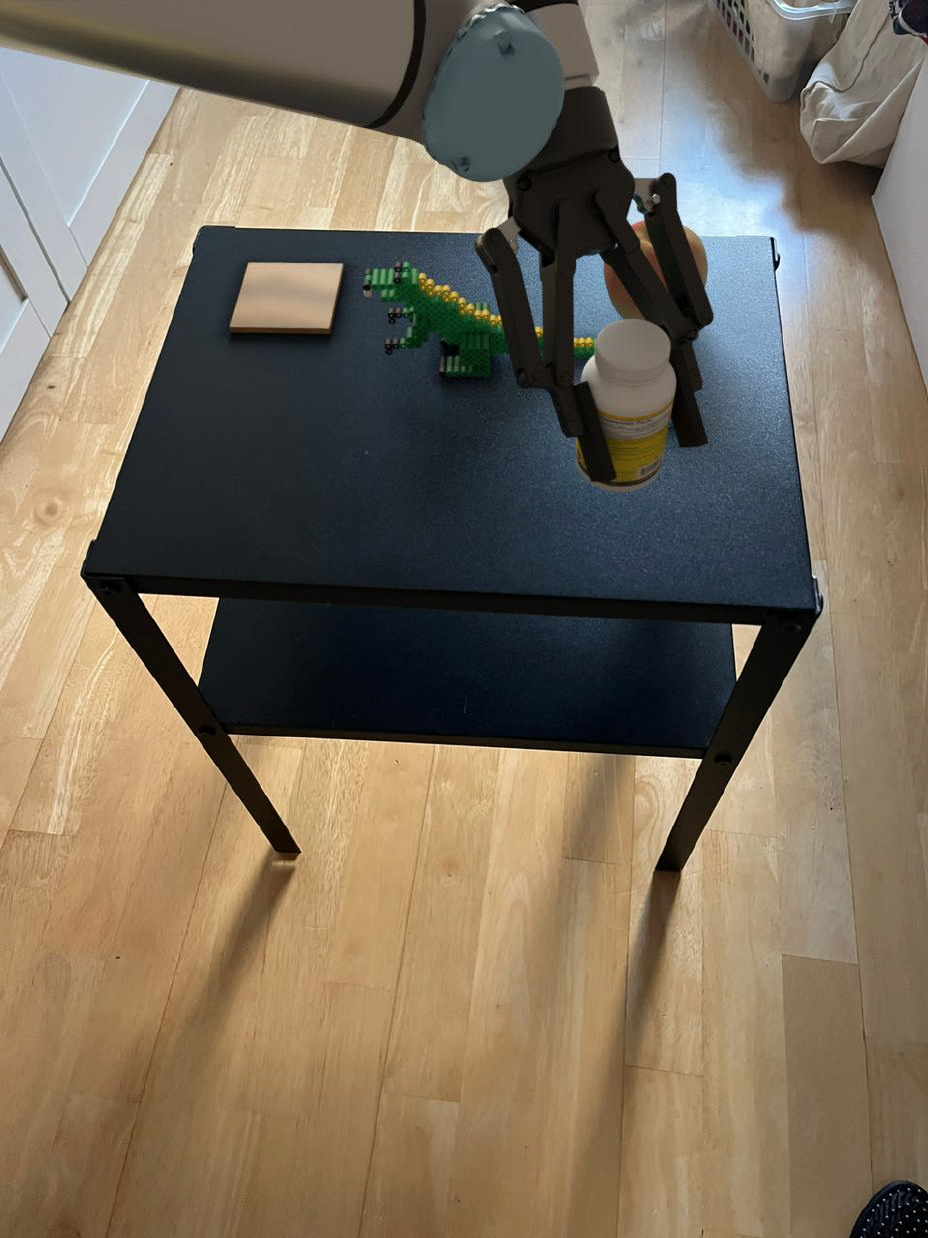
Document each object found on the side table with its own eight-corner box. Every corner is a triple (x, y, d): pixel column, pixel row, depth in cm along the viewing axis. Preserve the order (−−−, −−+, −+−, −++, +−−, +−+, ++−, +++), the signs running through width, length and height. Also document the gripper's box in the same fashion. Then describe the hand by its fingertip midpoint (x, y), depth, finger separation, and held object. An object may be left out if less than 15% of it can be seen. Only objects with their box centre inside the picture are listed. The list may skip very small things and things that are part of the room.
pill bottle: (584, 425, 76) (594, 302, 67) (668, 439, 75) (690, 317, 66) (565, 487, 73) (574, 367, 64) (653, 503, 72) (674, 383, 63)
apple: (609, 350, 89) (617, 272, 82) (592, 284, 94) (598, 205, 87) (710, 340, 89) (726, 261, 82) (688, 274, 94) (701, 195, 87)
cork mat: (330, 333, 92) (329, 328, 91) (230, 332, 92) (229, 326, 92) (344, 268, 97) (343, 263, 96) (249, 267, 97) (248, 262, 97)
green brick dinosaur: (605, 328, 90) (613, 241, 83) (609, 374, 87) (617, 288, 80) (377, 332, 92) (365, 247, 84) (372, 378, 88) (359, 293, 81)
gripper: (651, 88, 70) (742, 419, 75) (388, 166, 66) (502, 510, 71) (706, 43, 63) (802, 412, 68) (415, 127, 59) (540, 513, 64)
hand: (649, 461), depth 69 cm, fingers closed on pill bottle, 6 cm apart
